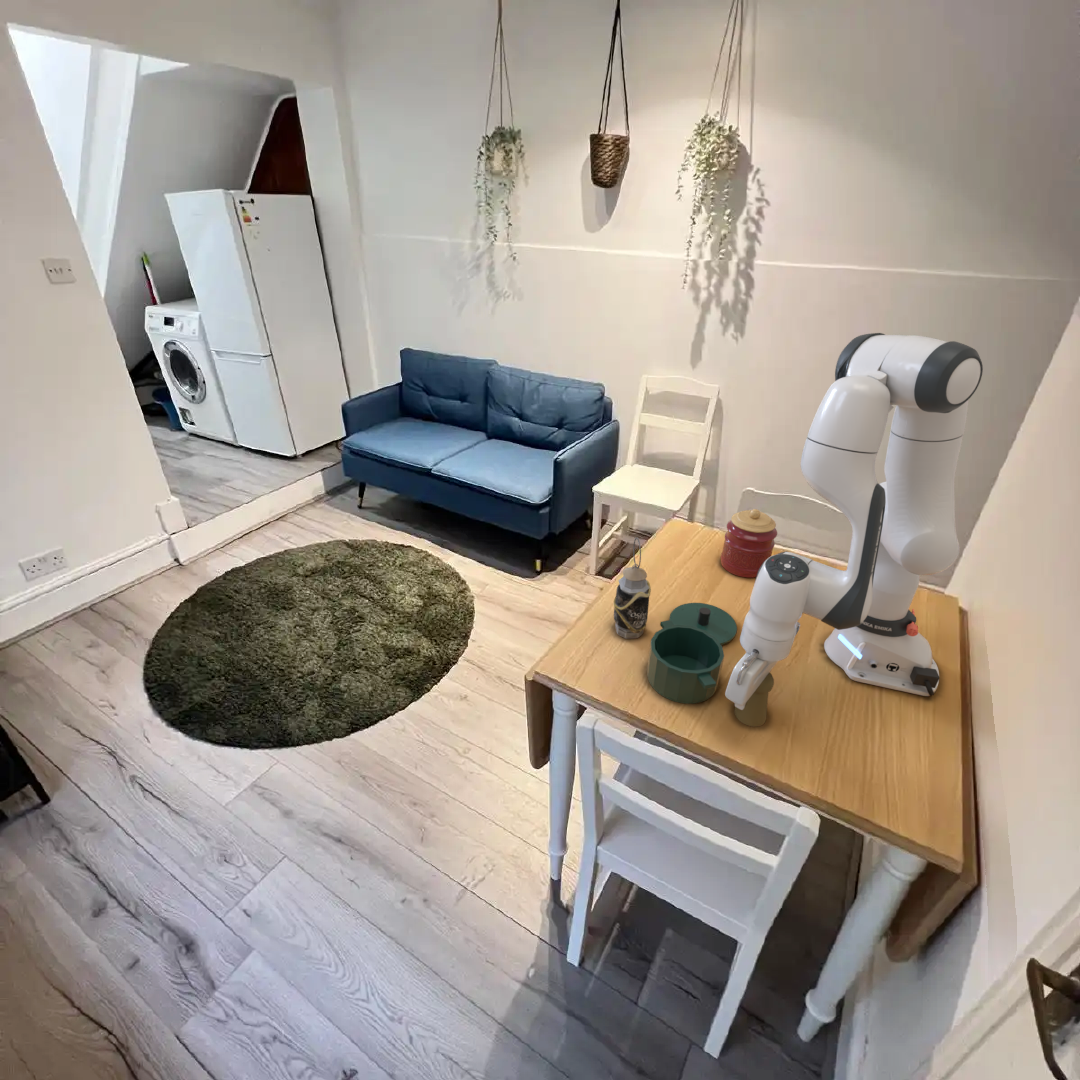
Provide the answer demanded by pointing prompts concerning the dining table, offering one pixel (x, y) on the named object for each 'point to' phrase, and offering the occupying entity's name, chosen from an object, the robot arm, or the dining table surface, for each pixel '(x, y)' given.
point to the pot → (684, 663)
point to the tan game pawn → (756, 704)
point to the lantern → (632, 601)
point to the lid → (706, 620)
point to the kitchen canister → (748, 542)
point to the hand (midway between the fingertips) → (750, 692)
